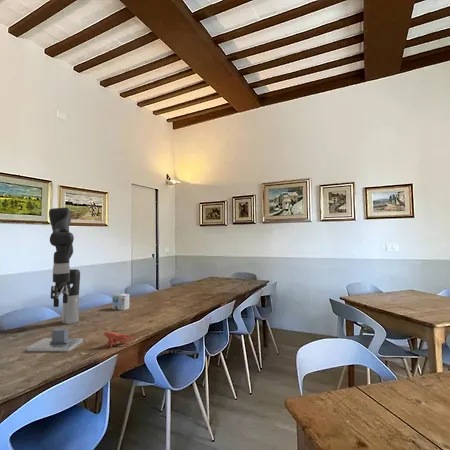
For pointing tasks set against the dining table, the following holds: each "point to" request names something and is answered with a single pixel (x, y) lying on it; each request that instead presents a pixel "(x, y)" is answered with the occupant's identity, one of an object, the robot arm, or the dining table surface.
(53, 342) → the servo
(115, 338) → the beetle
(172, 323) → the dining table surface
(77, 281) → the robot arm
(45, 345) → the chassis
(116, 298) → the light bulb box
